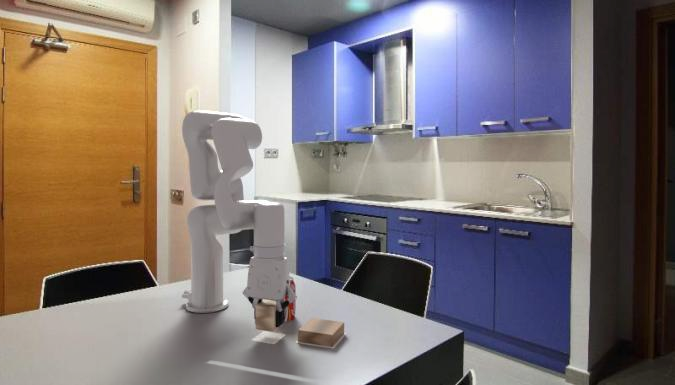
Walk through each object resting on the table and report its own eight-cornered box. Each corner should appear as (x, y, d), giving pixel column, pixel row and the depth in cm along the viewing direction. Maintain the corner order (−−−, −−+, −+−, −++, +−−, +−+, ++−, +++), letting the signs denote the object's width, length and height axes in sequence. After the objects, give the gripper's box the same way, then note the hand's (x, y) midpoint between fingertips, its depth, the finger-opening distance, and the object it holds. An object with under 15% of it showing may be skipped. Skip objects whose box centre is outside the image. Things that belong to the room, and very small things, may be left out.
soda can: (291, 325, 117) (291, 282, 116) (266, 323, 118) (266, 280, 117) (298, 317, 124) (298, 276, 123) (275, 315, 125) (275, 274, 124)
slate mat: (249, 344, 104) (249, 341, 104) (274, 325, 117) (274, 322, 117) (328, 357, 97) (328, 354, 97) (346, 335, 110) (346, 333, 110)
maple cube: (255, 329, 105) (255, 305, 104) (265, 322, 109) (265, 299, 109) (273, 331, 103) (273, 307, 103) (282, 324, 108) (282, 301, 108)
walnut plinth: (297, 341, 104) (297, 329, 104) (311, 329, 113) (312, 317, 112) (332, 347, 101) (332, 335, 101) (344, 333, 110) (344, 322, 109)
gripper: (231, 252, 105) (231, 325, 106) (294, 257, 99) (293, 333, 100) (247, 247, 112) (247, 315, 113) (306, 251, 106) (306, 323, 107)
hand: (269, 323), depth 106 cm, fingers closed on maple cube, 5 cm apart
